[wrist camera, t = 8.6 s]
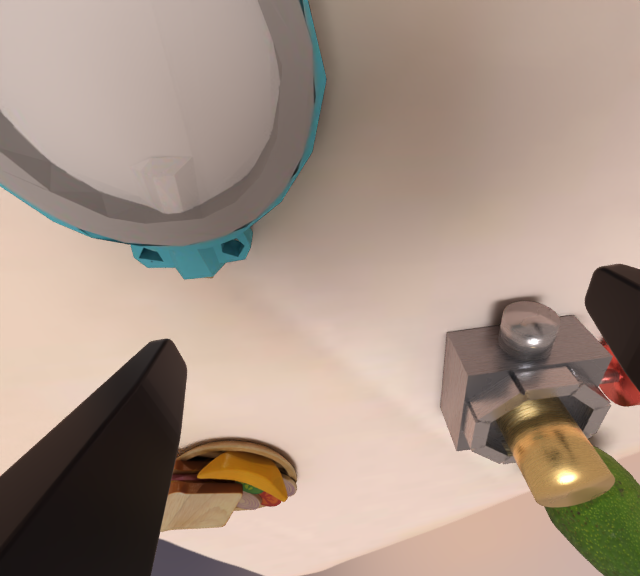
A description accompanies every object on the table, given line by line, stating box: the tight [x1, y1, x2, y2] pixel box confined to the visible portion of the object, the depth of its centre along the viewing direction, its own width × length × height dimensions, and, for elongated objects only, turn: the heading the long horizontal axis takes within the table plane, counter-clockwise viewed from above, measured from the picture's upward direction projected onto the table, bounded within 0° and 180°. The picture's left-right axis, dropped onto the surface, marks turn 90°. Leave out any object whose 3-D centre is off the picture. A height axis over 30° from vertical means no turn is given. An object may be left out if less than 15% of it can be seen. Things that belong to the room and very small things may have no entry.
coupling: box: [495, 397, 615, 507], centre depth 23 cm, size 4×4×6 cm
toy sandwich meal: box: [160, 441, 297, 532], centre depth 34 cm, size 12×14×5 cm
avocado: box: [544, 446, 640, 576], centre depth 32 cm, size 8×8×12 cm
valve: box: [440, 301, 640, 464], centre depth 26 cm, size 13×14×6 cm
